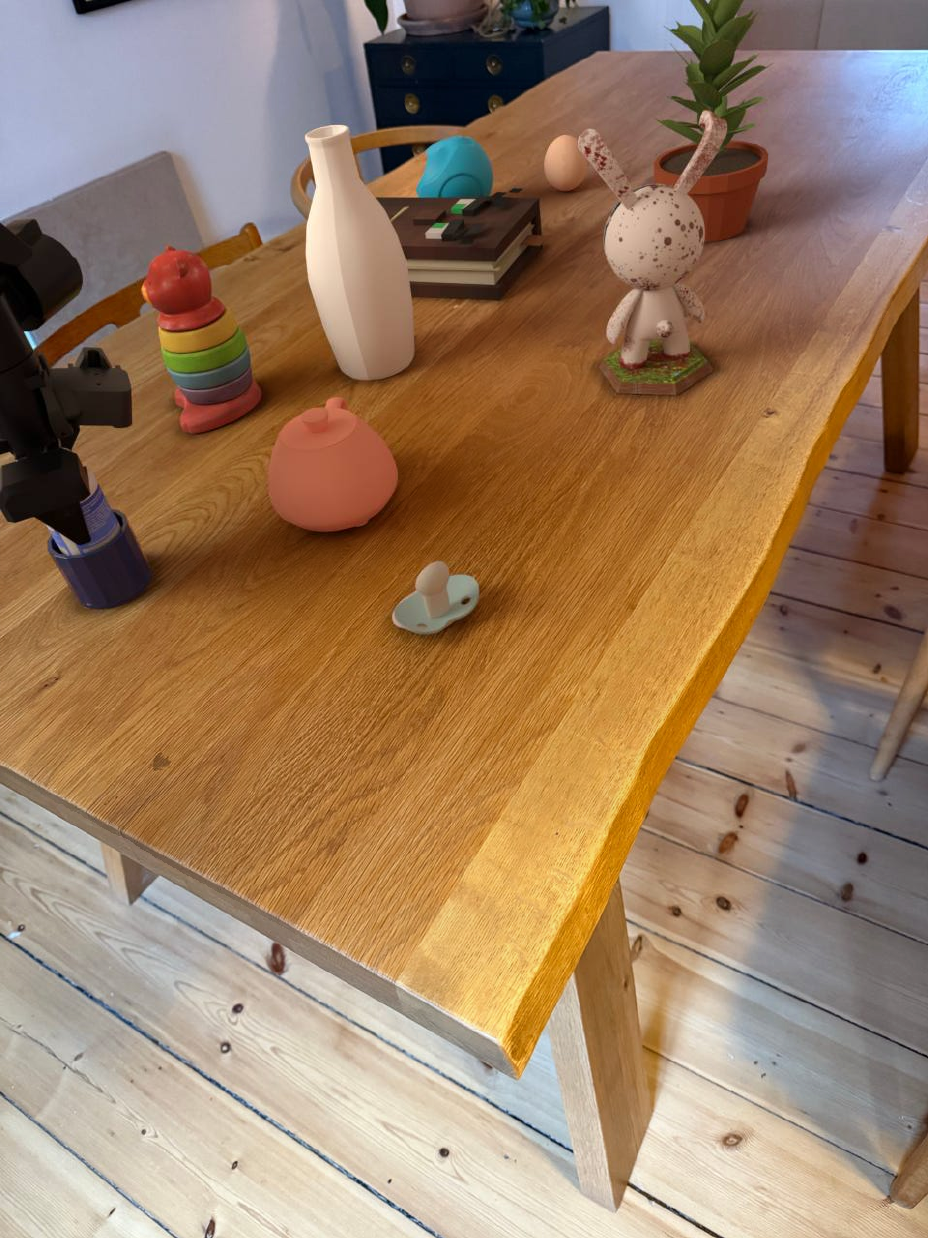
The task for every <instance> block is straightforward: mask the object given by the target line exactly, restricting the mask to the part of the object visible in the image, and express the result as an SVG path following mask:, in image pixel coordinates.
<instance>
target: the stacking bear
mask: <svg viewBox="0 0 928 1238" xmlns="http://www.w3.org/2000/svg"><path fill="white" fill-rule="evenodd" d="M164 250H165V252H163V253H160V254H158V255H157V256H156V257H154V258H153V259H152V261H151V262H150V263H149V267H148V271H147V274H146V277H145V279H144V281H143V284H142V285H141V286H142V287H141V289H140V295H141V297H142V298H143V299H144V301H146V303H147V304H148V305H149V306H151V307H152V308H153V309H155V310H157V311H159V312H160V313H159V315H158V317H157V325H158V336H159V342H160V350H161V356H162V359H163V362H164V365H165V367H166V369H167V371H168V373H169V375H170V377H171V379H172V381H173V382H174V383H175V384H176V386H177V388H176V389H175V391H174V402H175V405H176V406H177V407H178V408H179V407H180V408H181V409H183V410H182V412H181V415H180V416H179V426H180V428H181V429H182V432H183V433H185V434H186V433H188V434H193V435H194V434H201V433H205V432H209V431H211V430H215V429H217V428H220V427H222V426H225V425H227V424H230V423H232V422H234V421H236V420H237V419H239V418H241V417H243V416H245V415H246V414H247V413H249V412H250V411H252V410H254V408H256V406H257V405H258V404H259V402H260V401H261V398H262V389H261V388H260V386H259V384H258V382H257V381H256V380H255V379H254V378H253V372H252V371H253V369H252V364H251V363H252V362H251V361H252V357H251V354H250V347H249V344H248V342H247V338H246V336H245V334H244V331H243V330H242V328H241V326H240V325H239V324H238V322H237V319H236V317H235V316H234V314H233V312H232V311H231V309H230V308H229V307H228V306H227V305H225V304H224V302H222V301H221V300H220V299H218V298H217V297H215V296H212V293H213V292H212V291H213V290H212V289H213V287H212V278H211V275H210V271H209V268H208V266H207V264H206V263H205V262H204V261H203V259H202V258H201V257H200V256H198V255H197V254H196V253H194V252H191V251H189V250H184V249H176V248H175V247H173V246H171V245H165V246H164Z"/></svg>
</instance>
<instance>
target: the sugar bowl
mask: <svg viewBox="0 0 928 1238" xmlns="http://www.w3.org/2000/svg"><path fill="white" fill-rule="evenodd" d="M267 470H268V472H267V487H268V496H269V499H270V502H271V505H272V508H273V510H274V511H275V512H276V513H277V514H278V516H279V517H280V518H282V520H285V521H286V522H288V523H290V524H292V525H294V526H296V527H299V528H301V529H304V530H307V531H311V532H318V533H319V532H320V533H321V532H322V533H323V532H324V533H325V532H326V533H328V532H337V531H343V530H347V529H350V528H354V527H355V528H358V527H363V526H364V525H366V524H368V522H369V521H370V519H372V518H373V517H375V516H376V515H377V514H379V513H380V512H381V511H382V510H383V508H384V507H385V506H386V504H388V502H389V501H390V499H391V497H392V496H393V494H394V493H395V491H396V488H397V484H398V480H399V471H398V467H397V463H396V460H395V458H394V455H393V454H392V452H391V450H390V449H389V446H388V445H387V444H386V442H385V441H384V439H383V438H382V436H380V435H379V434H378V433H377V432H376V430H375V429H373V427H371V426H370V425H369V424H367V422H366V421H365V420H363V419H362V418H361V417H359V416H358V415H357V414H356V413H353V412H352V411H350V410H349V406H348V403H347V401H346V399H344V398H343V397H339V396H336V397H331V398H329V399H328V400H327V401H326V402H325V407H321V406H320V407H313V408H309V409H307V410H305V411H304V412H302V413H301V414H299V415H296V416H295V417H294V418H291V419H290V420H289V421H288V422H287V423H285V424H284V426H283V427H282V429H280V432H279V434H278V436H277V437H276V441H275V444H274V446H273V450H272V452H271V455H270V460H269V464H268V469H267Z"/></svg>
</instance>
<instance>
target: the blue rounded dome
mask: <svg viewBox="0 0 928 1238" xmlns="http://www.w3.org/2000/svg"><path fill="white" fill-rule="evenodd" d="M425 154H426V157H427V159H426V163H425V167H424V171H423V174H422V175H421V177H420V179H419V181H418V182H417V185H416V188H415V192H416V195H417V197H450V198H478V197H479V196H491V193H492V191H493V185H494V172H493V166H492V163H491V160H490V158H489V156H488V154H487V152H486V151H485V149H484V147H482V146H481V144H480V143H478V141H476V140H475V139H474V138H472V137H471V136H468V135H466V136H465V137H464V136H463V135H461V134H459V135H454V136H449V137H446V138H443V139H441V140H438V141H437V142H435V143H433V144H432V145H430V146H429V147H427V149H426V150H425Z"/></svg>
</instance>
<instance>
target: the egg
mask: <svg viewBox="0 0 928 1238" xmlns="http://www.w3.org/2000/svg"><path fill="white" fill-rule="evenodd" d="M578 140H579V139H578V138H576V137H574V136H572V135H569V134H563V135H559V136H558V137H556V138H555V139H554V140H553V141H552V142H551V143H550V145H549V147H548V148H547V151H546V154H545V155H544V156H545V157H544V162H543V163H544V164H543V165H544V166H543V167H544V168H543V169H544V175H545V177H546V180H547V181H548V183H549V184H550V185H551V187H553V188H554V189H556V190H558V191H560V192H570V191H573V190H574V189H576V188H577V187H579V186H580V185H581V183H582V182H583V180H584V179H585V177H586V174H587V171H588V160H587V159H586V157H585V156H584V155H583V154H582V153H581V151H580V150H579V147H578Z"/></svg>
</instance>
